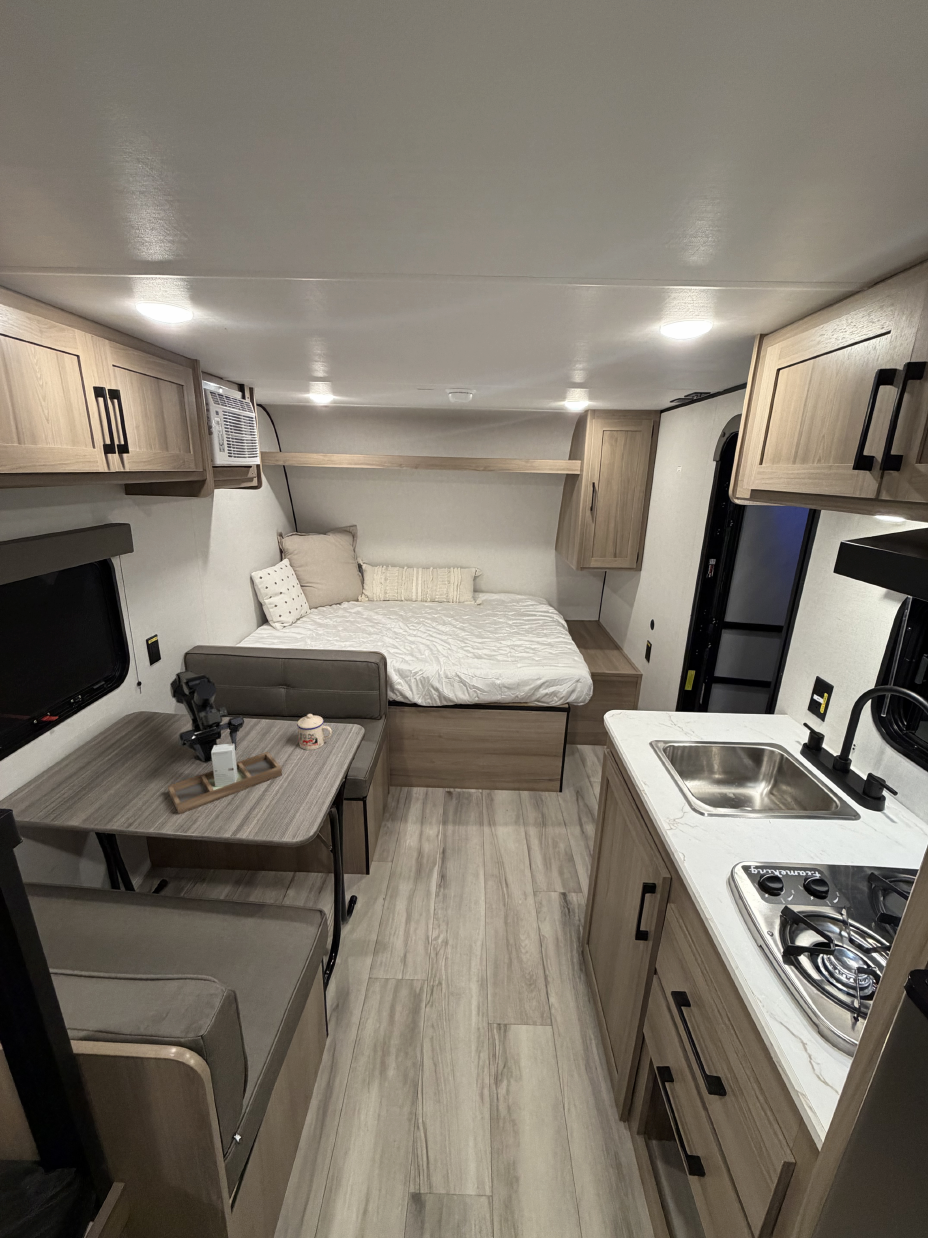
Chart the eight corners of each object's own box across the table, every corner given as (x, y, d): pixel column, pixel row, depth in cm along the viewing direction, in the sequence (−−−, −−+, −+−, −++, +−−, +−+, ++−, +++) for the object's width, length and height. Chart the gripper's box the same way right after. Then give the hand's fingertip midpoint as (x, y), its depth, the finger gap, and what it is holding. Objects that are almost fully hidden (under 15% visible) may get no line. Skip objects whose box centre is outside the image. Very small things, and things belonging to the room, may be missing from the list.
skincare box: (214, 787, 155) (209, 752, 151) (218, 779, 159) (212, 745, 155) (236, 784, 156) (231, 750, 153) (239, 776, 160) (234, 742, 157)
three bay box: (169, 794, 153) (167, 786, 152) (268, 759, 171) (267, 751, 171) (178, 814, 144) (177, 805, 143) (282, 775, 163) (281, 767, 162)
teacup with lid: (294, 750, 177) (292, 720, 174) (304, 736, 186) (302, 708, 183) (328, 751, 176) (326, 722, 173) (336, 738, 185) (334, 709, 182)
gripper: (174, 709, 151) (189, 757, 147) (239, 692, 163) (254, 736, 158) (172, 723, 159) (186, 769, 155) (234, 706, 171) (248, 748, 166)
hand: (220, 755), depth 158 cm, fingers open, 9 cm apart
